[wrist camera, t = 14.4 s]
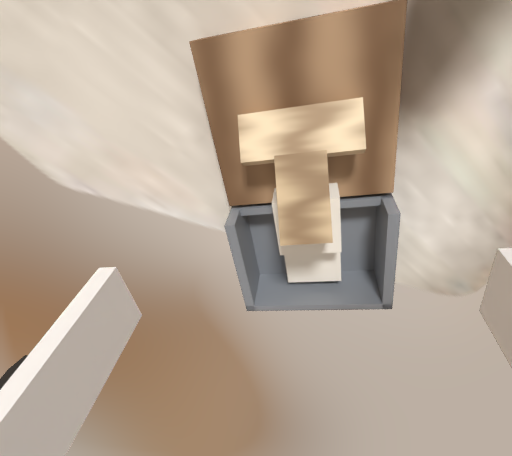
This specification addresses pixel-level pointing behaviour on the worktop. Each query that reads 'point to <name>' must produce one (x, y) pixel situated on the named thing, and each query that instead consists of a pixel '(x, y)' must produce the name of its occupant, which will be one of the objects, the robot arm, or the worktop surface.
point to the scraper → (303, 160)
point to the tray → (352, 256)
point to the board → (307, 90)
